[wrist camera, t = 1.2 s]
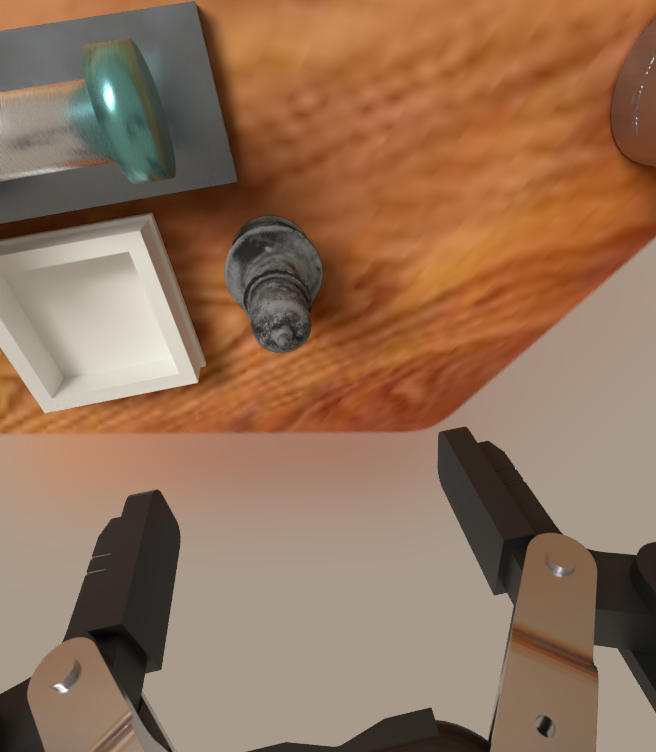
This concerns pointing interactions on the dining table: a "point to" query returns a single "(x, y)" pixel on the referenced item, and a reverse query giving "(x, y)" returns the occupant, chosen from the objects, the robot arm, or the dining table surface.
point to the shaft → (89, 120)
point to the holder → (95, 313)
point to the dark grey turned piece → (274, 280)
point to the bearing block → (173, 83)
